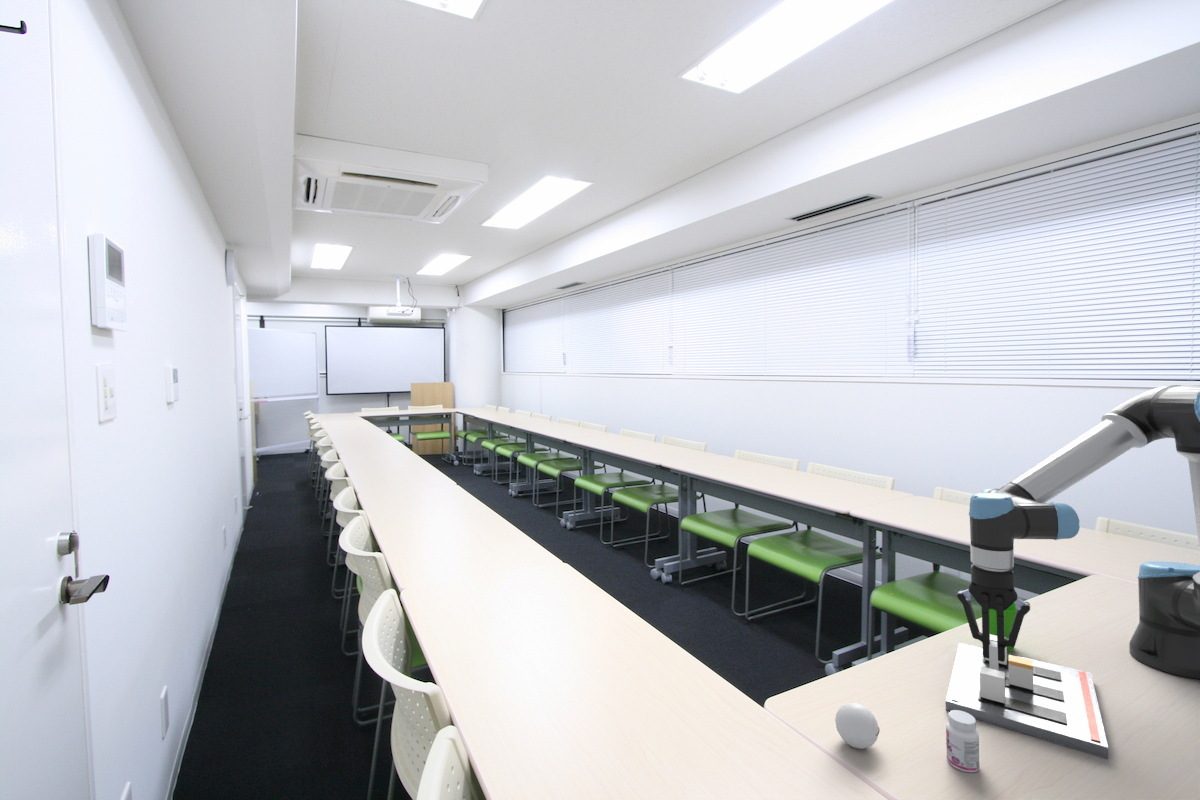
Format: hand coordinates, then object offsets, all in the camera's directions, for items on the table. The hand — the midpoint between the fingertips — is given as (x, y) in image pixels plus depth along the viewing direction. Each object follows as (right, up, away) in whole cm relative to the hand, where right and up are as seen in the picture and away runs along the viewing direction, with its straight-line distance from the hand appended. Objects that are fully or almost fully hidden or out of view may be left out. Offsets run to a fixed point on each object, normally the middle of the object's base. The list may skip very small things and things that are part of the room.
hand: (994, 673), depth 115 cm
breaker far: (+6, 0, +7) cm, 9 cm away
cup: (+15, -3, +18) cm, 23 cm away
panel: (+4, -3, -3) cm, 6 cm away
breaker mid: (+4, -1, -3) cm, 5 cm away
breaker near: (-6, -1, -7) cm, 9 cm away
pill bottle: (-22, -5, -22) cm, 31 cm away
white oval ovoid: (-37, -5, -15) cm, 40 cm away
